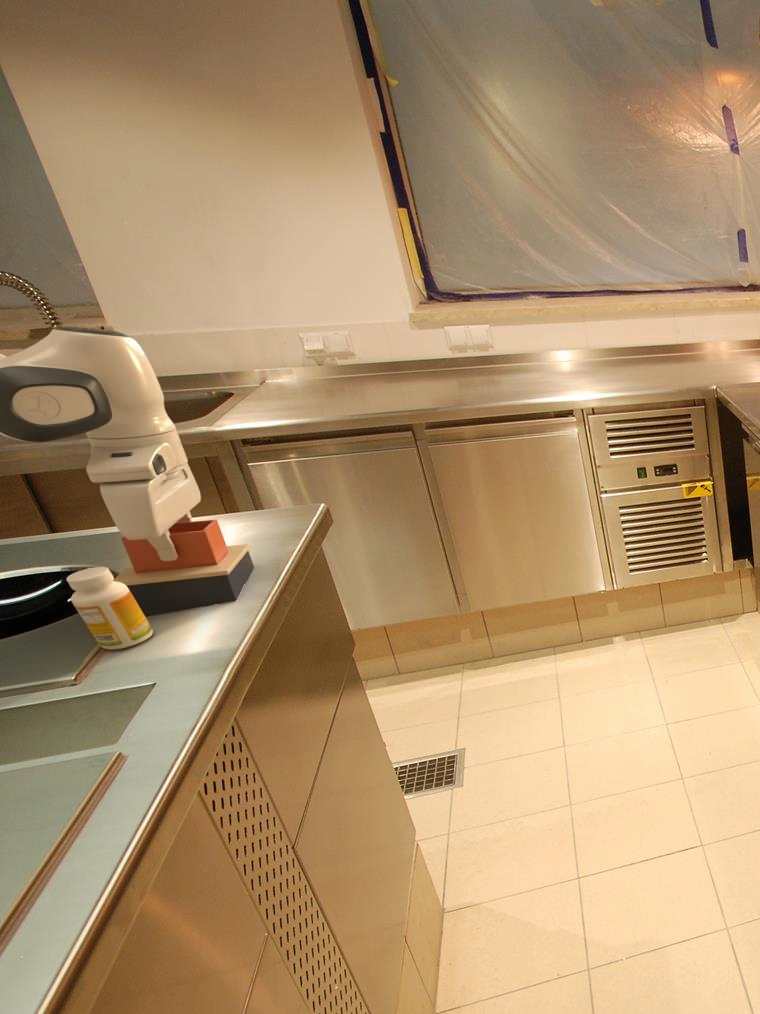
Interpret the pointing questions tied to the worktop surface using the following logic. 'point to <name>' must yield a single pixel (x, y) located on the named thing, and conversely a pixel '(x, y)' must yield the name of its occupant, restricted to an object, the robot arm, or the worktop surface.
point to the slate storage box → (190, 584)
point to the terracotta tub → (181, 547)
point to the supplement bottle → (108, 609)
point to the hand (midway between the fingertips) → (179, 551)
